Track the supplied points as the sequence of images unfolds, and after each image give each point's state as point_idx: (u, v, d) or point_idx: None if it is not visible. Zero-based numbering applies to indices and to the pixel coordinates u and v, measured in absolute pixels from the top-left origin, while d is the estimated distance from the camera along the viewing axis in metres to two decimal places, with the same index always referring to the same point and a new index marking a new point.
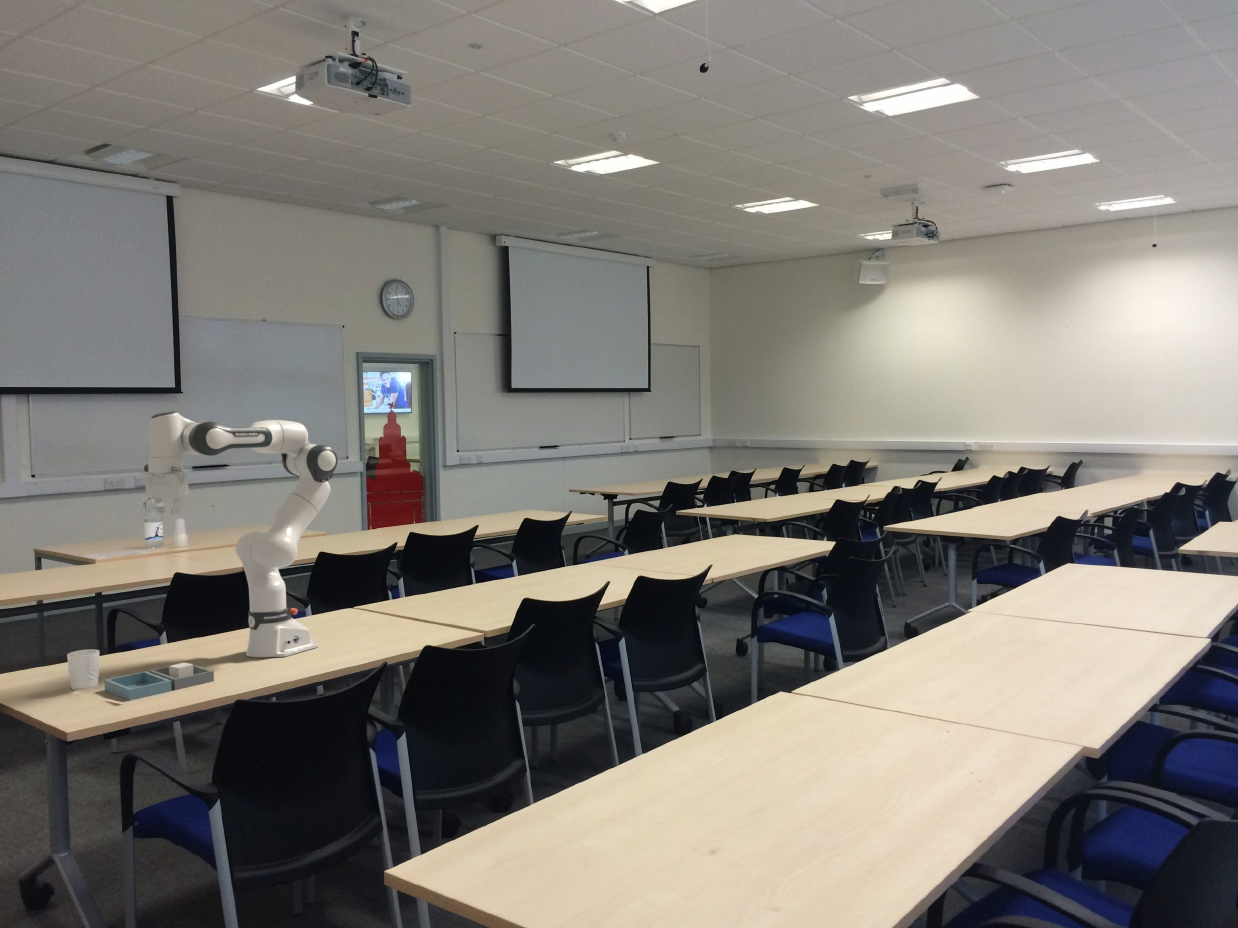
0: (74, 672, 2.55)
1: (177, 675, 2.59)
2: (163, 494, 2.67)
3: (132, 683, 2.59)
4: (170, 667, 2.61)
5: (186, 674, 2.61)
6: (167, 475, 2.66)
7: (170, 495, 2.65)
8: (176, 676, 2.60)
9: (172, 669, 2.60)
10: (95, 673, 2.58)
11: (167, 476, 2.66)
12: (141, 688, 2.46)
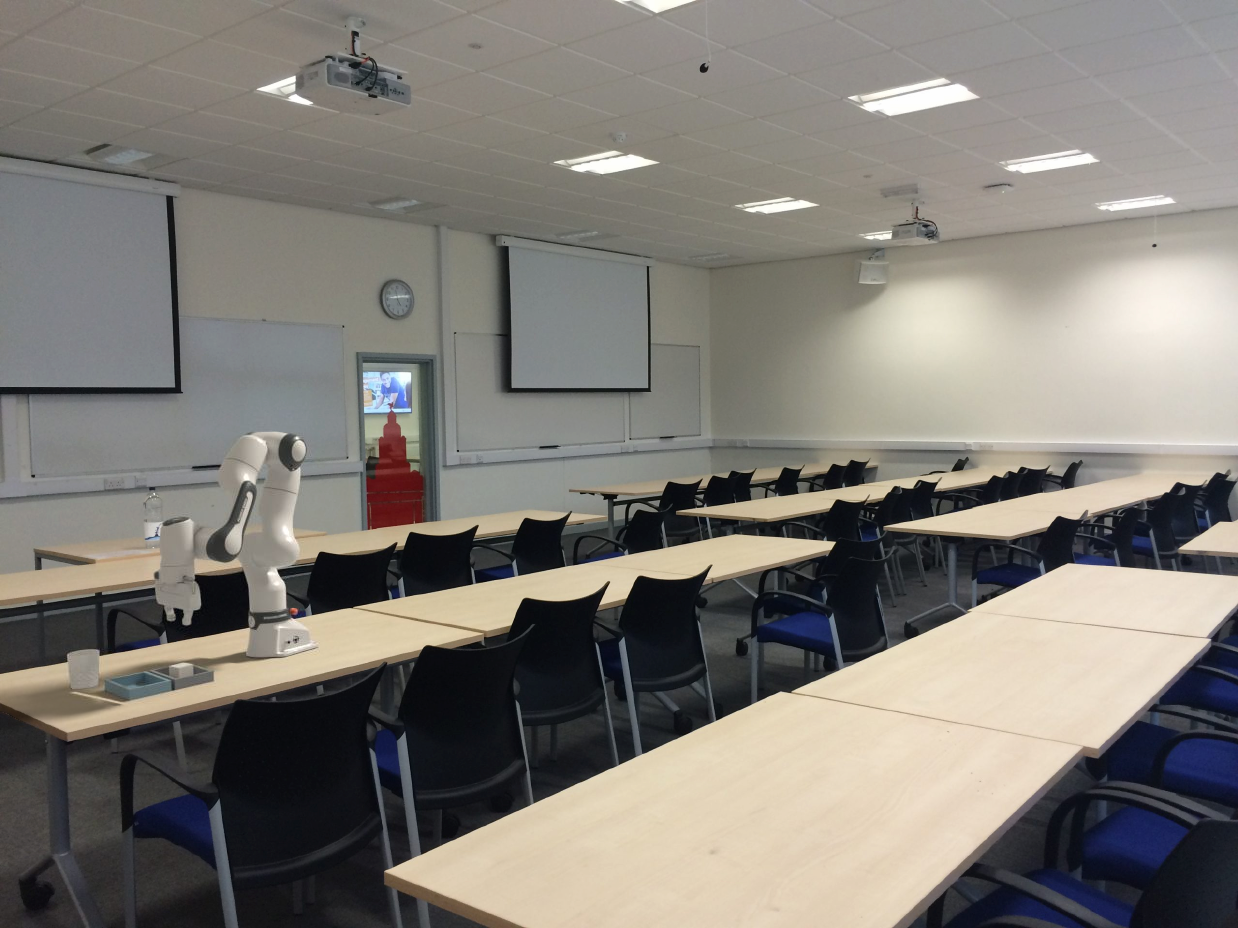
0: (74, 672, 2.55)
1: (177, 675, 2.59)
2: (174, 603, 2.58)
3: (132, 683, 2.59)
4: (170, 667, 2.61)
5: (186, 674, 2.61)
6: (178, 585, 2.57)
7: (181, 606, 2.56)
8: (176, 676, 2.60)
9: (172, 669, 2.60)
10: (95, 673, 2.58)
11: (178, 586, 2.57)
12: (141, 688, 2.46)
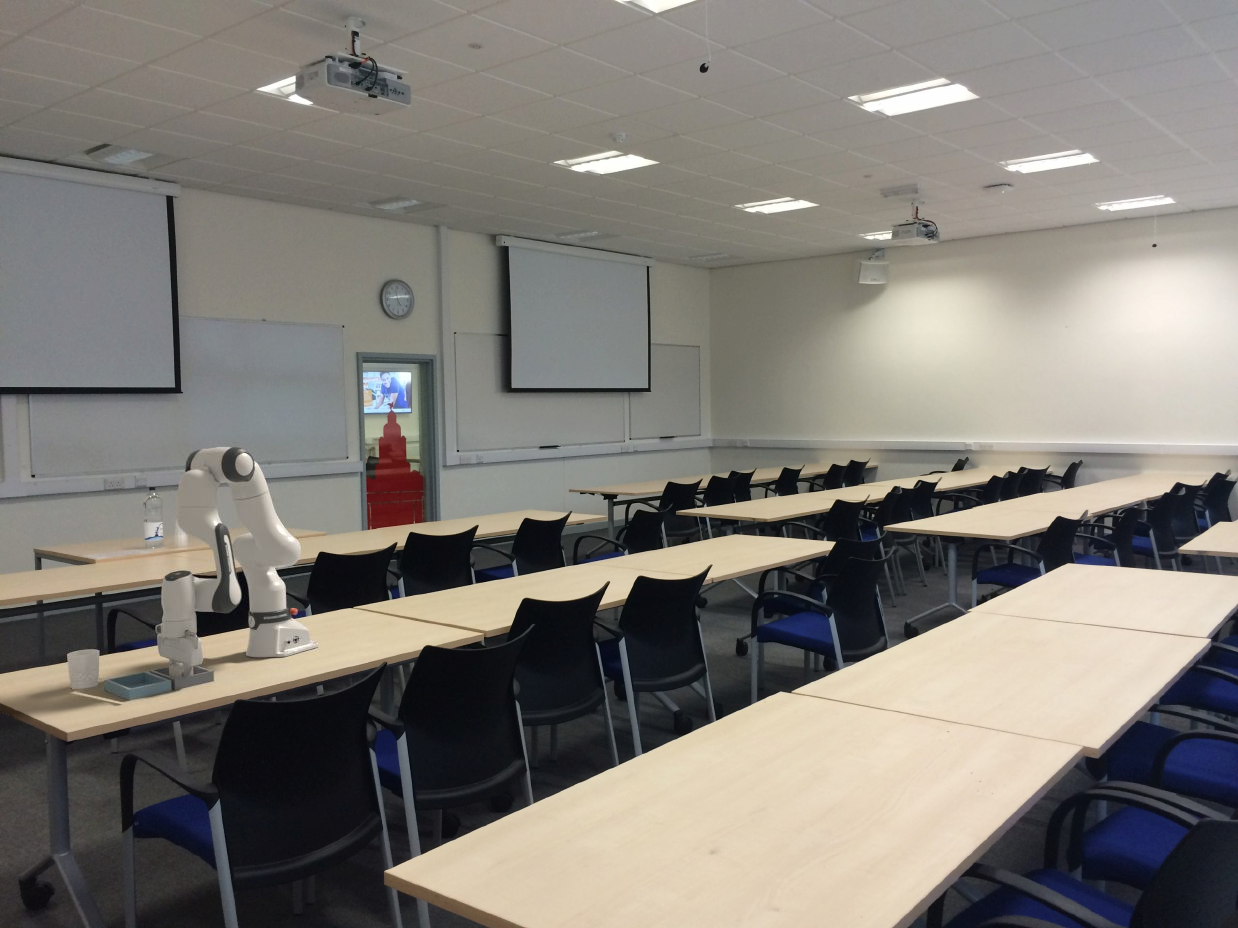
0: (74, 672, 2.55)
1: (177, 675, 2.59)
2: (177, 658, 2.59)
3: (132, 683, 2.59)
4: (170, 667, 2.61)
5: None
6: (181, 639, 2.57)
7: (184, 661, 2.57)
8: (176, 676, 2.60)
9: (172, 669, 2.60)
10: (95, 673, 2.58)
11: (180, 641, 2.58)
12: (141, 688, 2.46)
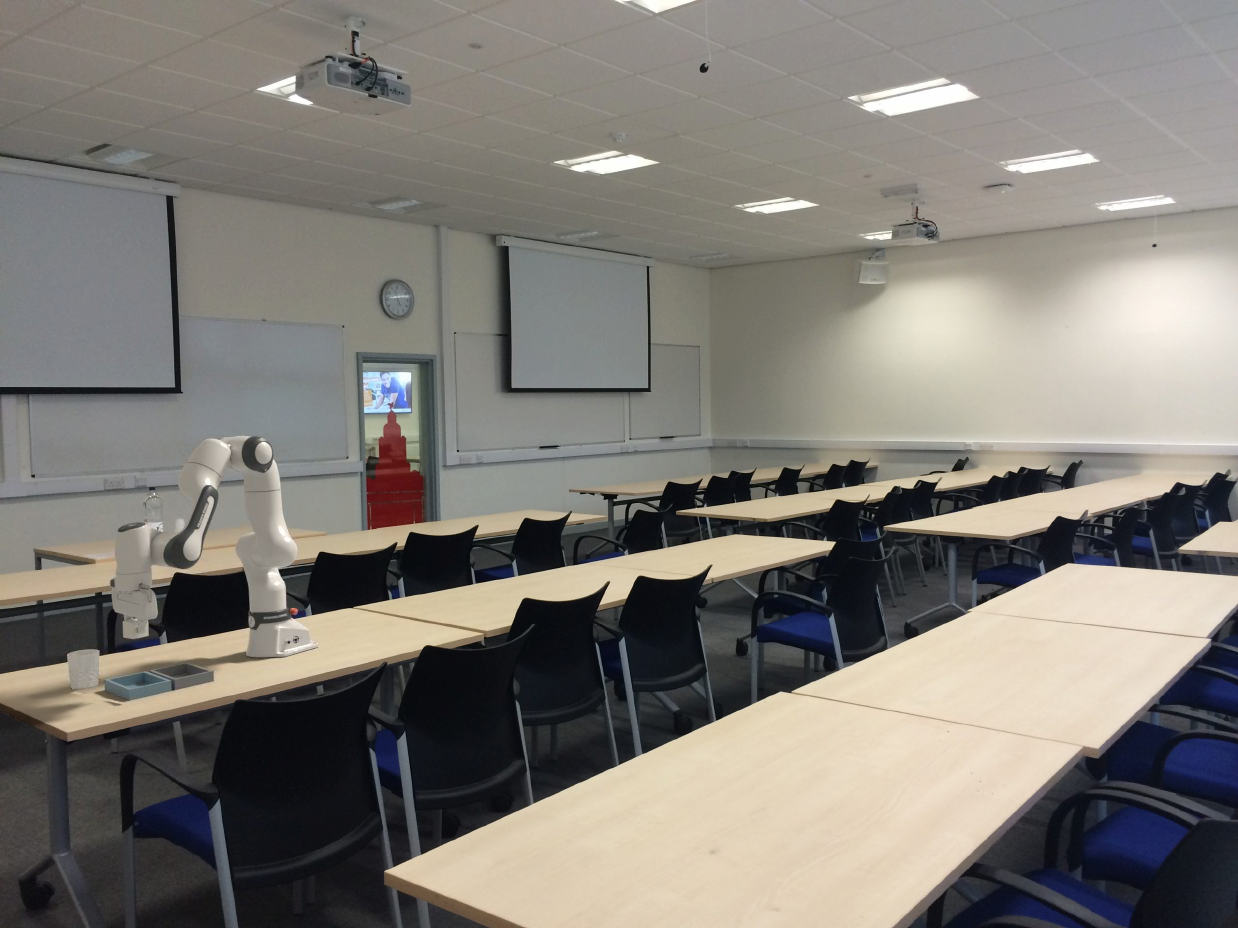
0: (74, 672, 2.55)
1: (131, 630, 2.49)
2: (131, 612, 2.49)
3: (132, 683, 2.59)
4: (124, 622, 2.51)
5: None
6: (134, 593, 2.48)
7: (137, 615, 2.47)
8: (130, 631, 2.50)
9: (126, 624, 2.50)
10: (95, 673, 2.58)
11: (134, 594, 2.48)
12: (141, 688, 2.46)
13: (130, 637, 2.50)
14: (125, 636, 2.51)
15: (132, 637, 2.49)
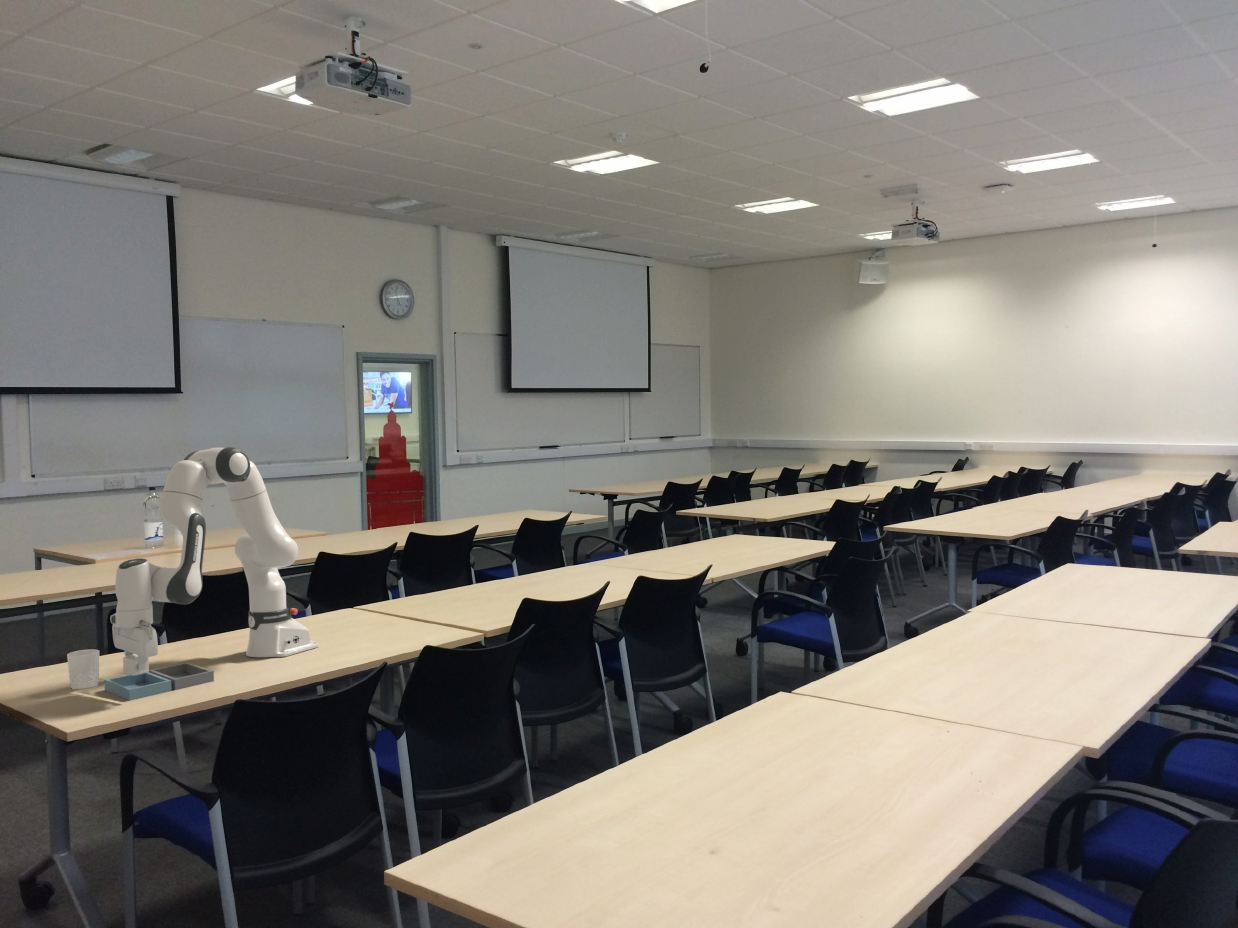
0: (74, 672, 2.55)
1: (131, 667, 2.50)
2: (131, 649, 2.50)
3: (132, 683, 2.59)
4: (124, 658, 2.51)
5: None
6: (135, 630, 2.48)
7: (138, 652, 2.47)
8: (130, 668, 2.50)
9: (126, 661, 2.51)
10: (95, 673, 2.58)
11: (134, 631, 2.48)
12: (141, 688, 2.46)
13: (130, 673, 2.50)
14: (125, 672, 2.51)
15: (132, 673, 2.50)
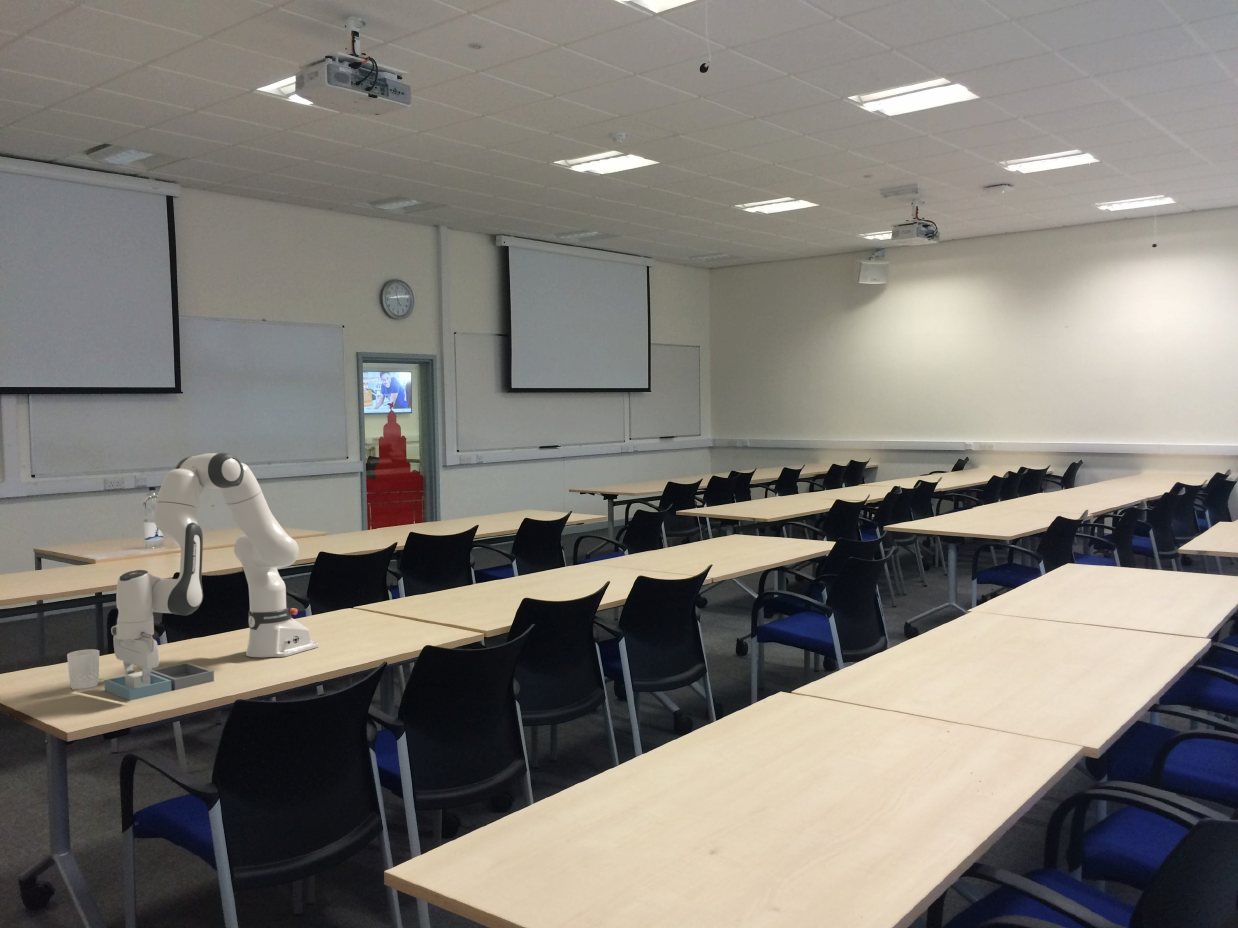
0: (74, 672, 2.55)
1: (132, 685, 2.50)
2: (132, 660, 2.50)
3: None
4: (126, 676, 2.52)
5: (142, 684, 2.52)
6: (136, 641, 2.48)
7: (139, 664, 2.47)
8: (131, 686, 2.50)
9: (128, 678, 2.51)
10: (95, 673, 2.58)
11: (136, 643, 2.48)
12: (141, 688, 2.46)
13: None
14: None
15: None
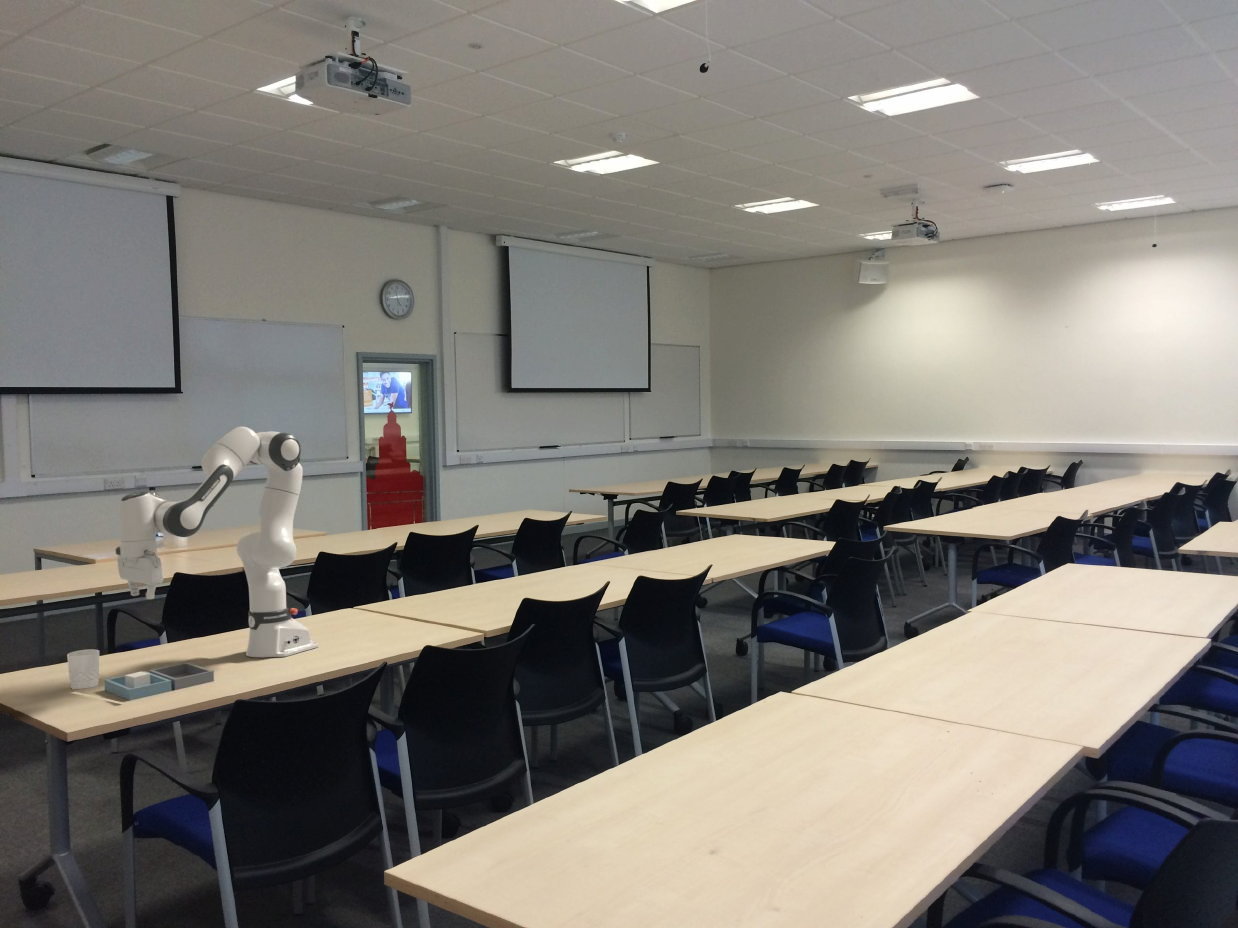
0: (74, 672, 2.55)
1: (132, 685, 2.50)
2: (137, 578, 2.58)
3: None
4: (126, 676, 2.52)
5: (142, 684, 2.52)
6: (140, 559, 2.56)
7: (144, 580, 2.56)
8: (131, 686, 2.50)
9: (128, 678, 2.51)
10: (95, 673, 2.58)
11: (140, 560, 2.56)
12: (141, 688, 2.46)
13: None
14: None
15: None
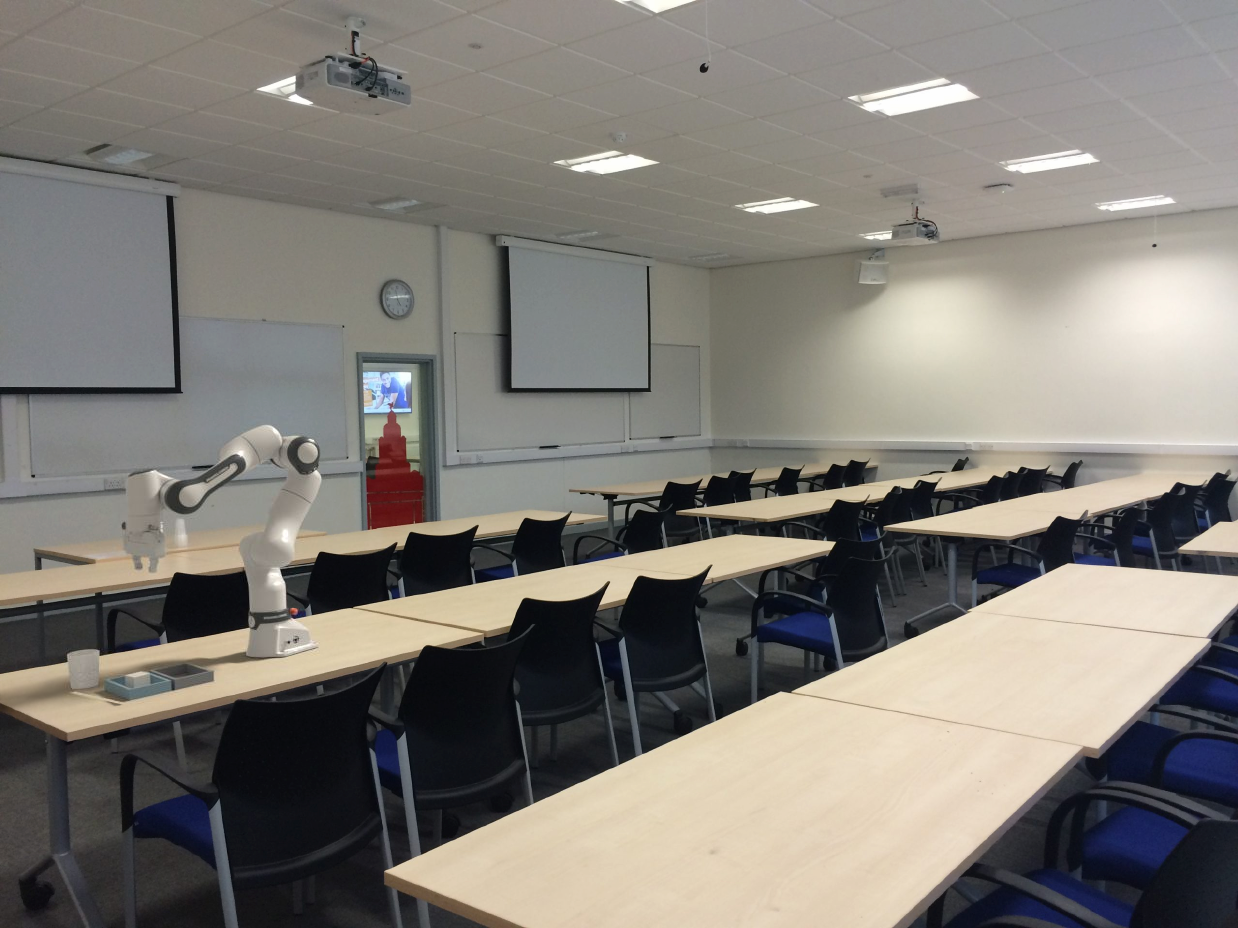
0: (74, 672, 2.55)
1: (132, 685, 2.50)
2: (141, 552, 2.67)
3: None
4: (126, 676, 2.52)
5: (142, 684, 2.52)
6: (144, 534, 2.65)
7: (147, 554, 2.64)
8: (131, 686, 2.50)
9: (128, 678, 2.51)
10: (95, 673, 2.58)
11: (144, 535, 2.65)
12: (141, 688, 2.46)
13: None
14: None
15: None
